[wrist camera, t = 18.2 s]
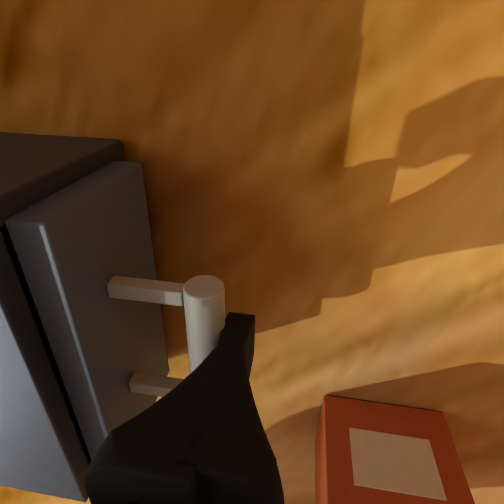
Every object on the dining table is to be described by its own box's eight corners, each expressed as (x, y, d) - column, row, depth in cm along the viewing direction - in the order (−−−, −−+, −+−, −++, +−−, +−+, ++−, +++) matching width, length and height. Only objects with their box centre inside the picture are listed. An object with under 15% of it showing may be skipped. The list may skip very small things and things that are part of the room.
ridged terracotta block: (445, 411, 19) (505, 573, 13) (423, 459, 22) (465, 615, 16) (321, 393, 20) (324, 538, 14) (312, 441, 22) (312, 583, 16)
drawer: (243, 168, 13) (202, 239, 8) (240, 380, 19) (215, 495, 14) (-129, 143, 15) (-343, 186, 10) (-27, 342, 21) (-131, 431, 16)
